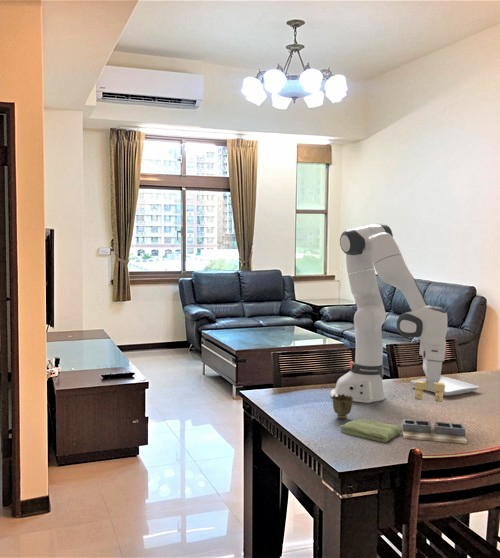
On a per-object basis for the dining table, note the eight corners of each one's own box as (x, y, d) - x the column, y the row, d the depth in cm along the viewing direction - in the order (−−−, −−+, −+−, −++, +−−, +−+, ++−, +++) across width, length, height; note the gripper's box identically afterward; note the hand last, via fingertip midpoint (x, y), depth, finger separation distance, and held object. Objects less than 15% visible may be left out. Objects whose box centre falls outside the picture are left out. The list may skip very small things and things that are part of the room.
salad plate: (441, 382, 264) (441, 374, 264) (480, 393, 246) (480, 385, 246) (408, 387, 253) (409, 380, 253) (447, 400, 235) (447, 391, 235)
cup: (339, 422, 203) (340, 400, 202) (327, 416, 209) (328, 395, 209) (356, 419, 206) (357, 398, 206) (344, 414, 213) (344, 393, 212)
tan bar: (414, 399, 205) (416, 382, 204) (414, 397, 208) (415, 380, 207) (443, 402, 203) (444, 385, 202) (442, 400, 206) (443, 383, 205)
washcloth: (355, 423, 204) (355, 414, 203) (402, 434, 193) (402, 425, 193) (337, 433, 193) (338, 423, 193) (386, 445, 182) (386, 435, 182)
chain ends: (402, 431, 192) (403, 424, 192) (401, 426, 197) (402, 419, 197) (465, 436, 188) (465, 429, 188) (462, 431, 193) (462, 424, 193)
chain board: (403, 438, 188) (403, 435, 188) (401, 425, 201) (401, 422, 201) (466, 443, 184) (466, 440, 184) (460, 430, 197) (460, 427, 197)
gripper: (420, 344, 214) (417, 380, 216) (426, 355, 194) (423, 395, 196) (437, 345, 213) (434, 381, 214) (445, 357, 193) (442, 397, 194)
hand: (429, 388), depth 205 cm, fingers closed on tan bar, 3 cm apart
